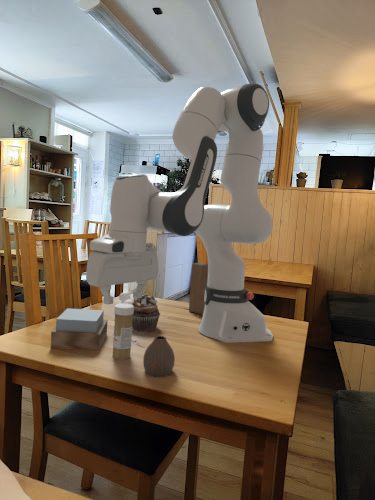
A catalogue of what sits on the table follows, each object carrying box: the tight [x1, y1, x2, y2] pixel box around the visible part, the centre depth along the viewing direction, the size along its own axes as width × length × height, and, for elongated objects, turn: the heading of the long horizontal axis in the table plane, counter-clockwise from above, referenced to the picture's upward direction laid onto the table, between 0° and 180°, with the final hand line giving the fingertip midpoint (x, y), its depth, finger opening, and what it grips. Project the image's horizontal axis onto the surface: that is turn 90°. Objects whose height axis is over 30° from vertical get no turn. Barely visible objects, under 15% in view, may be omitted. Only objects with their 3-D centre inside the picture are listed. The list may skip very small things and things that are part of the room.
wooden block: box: [188, 262, 208, 316], centre depth 134 cm, size 9×4×18 cm, turn 51°
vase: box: [142, 335, 176, 378], centre depth 82 cm, size 7×7×9 cm
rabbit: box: [118, 288, 136, 304], centre depth 125 cm, size 10×7×10 cm
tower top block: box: [55, 307, 105, 333], centre depth 98 cm, size 10×10×3 cm
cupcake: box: [131, 294, 161, 333], centre depth 113 cm, size 10×10×10 cm
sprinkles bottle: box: [111, 302, 134, 361], centre depth 89 cm, size 5×5×13 cm
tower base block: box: [50, 319, 108, 351], centre depth 98 cm, size 12×12×5 cm
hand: (123, 300), depth 88 cm, fingers open, 8 cm apart
